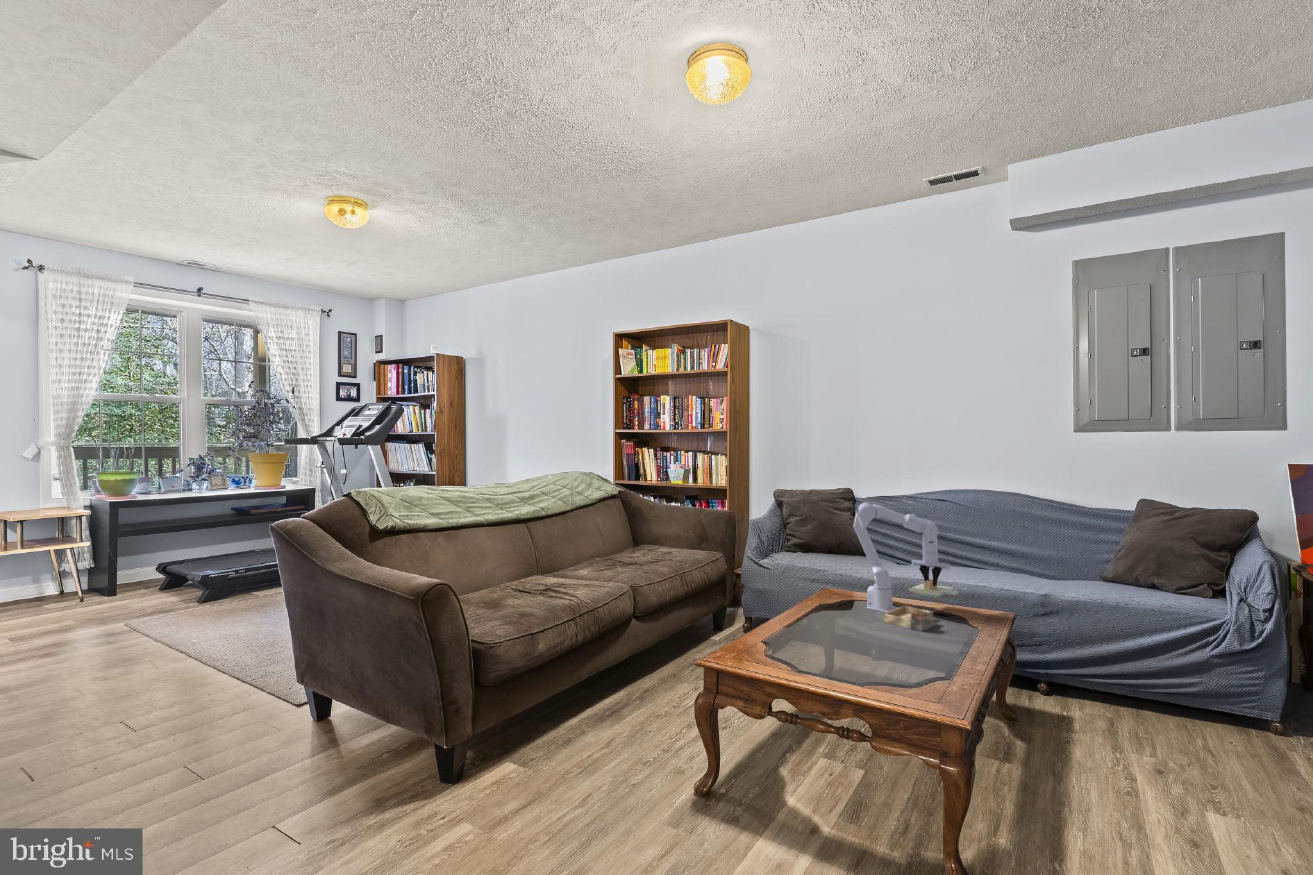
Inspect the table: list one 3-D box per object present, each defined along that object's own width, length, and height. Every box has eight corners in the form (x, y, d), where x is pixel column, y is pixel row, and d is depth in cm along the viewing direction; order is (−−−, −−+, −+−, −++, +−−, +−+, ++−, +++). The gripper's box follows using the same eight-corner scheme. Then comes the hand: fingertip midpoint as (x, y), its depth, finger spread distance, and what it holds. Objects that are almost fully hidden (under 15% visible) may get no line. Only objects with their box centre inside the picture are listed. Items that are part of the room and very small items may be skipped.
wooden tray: (881, 622, 241) (881, 612, 241) (903, 612, 252) (903, 603, 252) (921, 631, 228) (921, 621, 228) (943, 621, 239) (943, 611, 239)
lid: (908, 593, 252) (908, 581, 252) (923, 587, 263) (923, 576, 264) (949, 599, 241) (949, 587, 241) (963, 593, 252) (963, 581, 253)
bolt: (911, 618, 232) (911, 612, 232) (916, 616, 234) (916, 610, 234) (921, 620, 229) (921, 614, 228) (927, 618, 231) (926, 612, 231)
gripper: (908, 551, 256) (909, 584, 256) (945, 555, 246) (946, 589, 246) (915, 548, 261) (915, 580, 261) (951, 552, 251) (952, 585, 251)
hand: (931, 584), depth 254 cm, fingers closed on lid, 2 cm apart
